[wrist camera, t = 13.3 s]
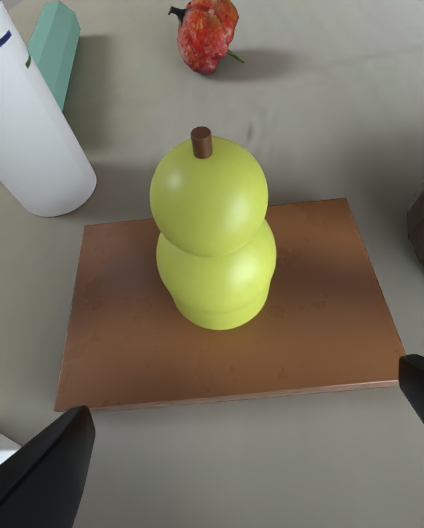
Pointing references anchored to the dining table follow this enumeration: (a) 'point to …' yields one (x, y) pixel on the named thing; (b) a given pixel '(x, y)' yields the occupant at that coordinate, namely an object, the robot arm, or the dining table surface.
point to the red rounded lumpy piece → (205, 33)
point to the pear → (213, 230)
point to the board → (231, 340)
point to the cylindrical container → (36, 135)
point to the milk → (7, 448)
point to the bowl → (417, 223)
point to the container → (55, 47)
